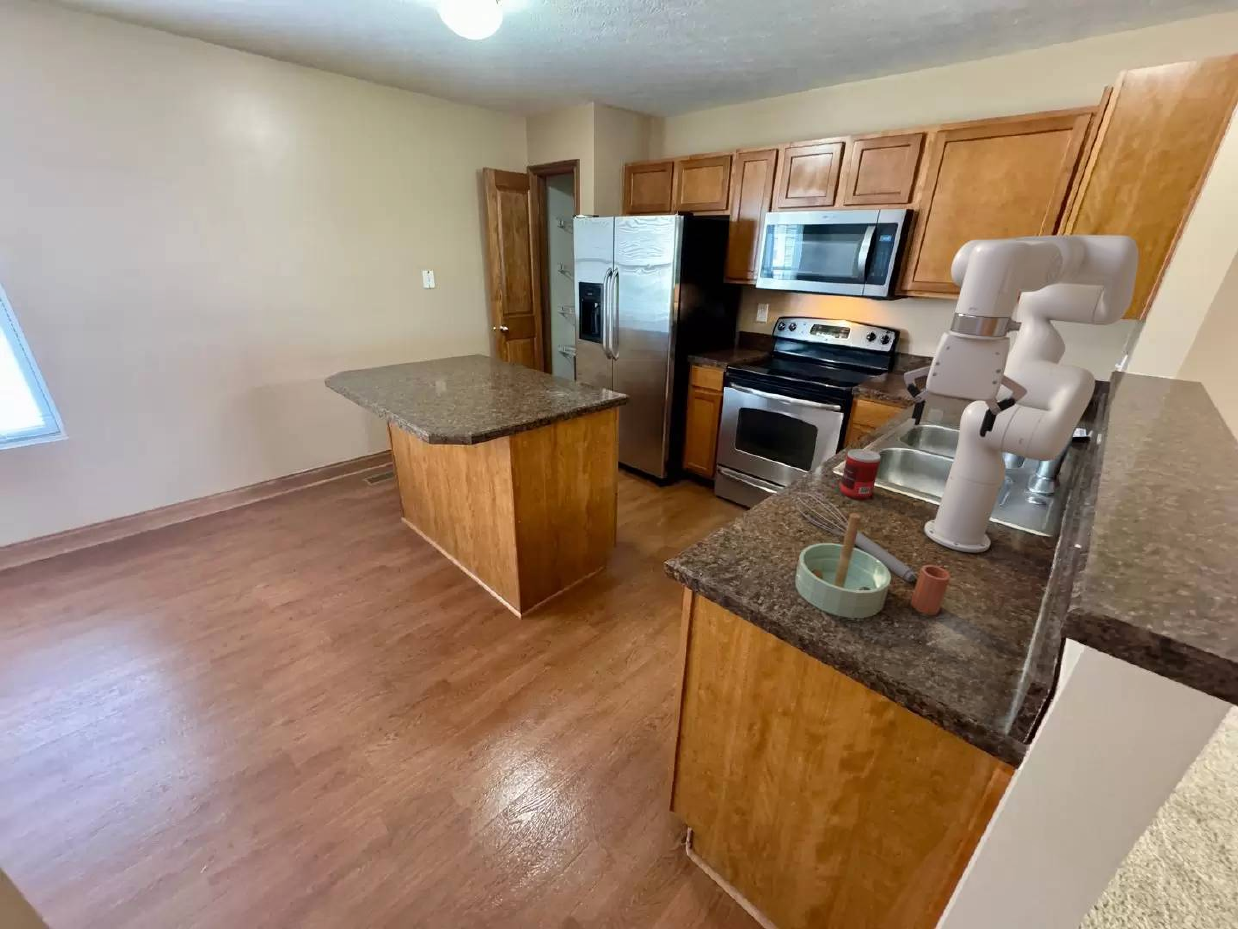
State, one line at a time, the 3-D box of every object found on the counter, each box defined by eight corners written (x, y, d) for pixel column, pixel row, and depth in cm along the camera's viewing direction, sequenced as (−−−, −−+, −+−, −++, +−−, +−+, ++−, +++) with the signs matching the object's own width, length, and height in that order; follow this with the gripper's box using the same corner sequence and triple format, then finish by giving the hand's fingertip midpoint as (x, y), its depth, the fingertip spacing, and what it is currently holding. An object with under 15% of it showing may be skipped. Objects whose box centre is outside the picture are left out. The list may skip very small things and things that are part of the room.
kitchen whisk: (909, 594, 96) (917, 565, 93) (788, 512, 124) (792, 489, 122) (932, 586, 98) (940, 559, 96) (808, 508, 127) (812, 485, 124)
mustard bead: (810, 575, 100) (812, 565, 99) (823, 579, 98) (825, 569, 97) (807, 581, 98) (809, 571, 97) (820, 586, 97) (822, 575, 96)
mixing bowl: (806, 559, 106) (811, 534, 103) (888, 586, 98) (895, 559, 96) (784, 599, 94) (789, 572, 91) (875, 633, 86) (884, 604, 84)
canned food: (875, 492, 135) (885, 454, 130) (864, 502, 130) (874, 462, 125) (846, 483, 140) (855, 446, 135) (834, 492, 134) (843, 454, 130)
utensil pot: (911, 598, 95) (922, 561, 92) (938, 607, 93) (951, 570, 89) (908, 611, 91) (920, 574, 88) (937, 620, 89) (950, 583, 86)
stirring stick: (833, 586, 97) (851, 512, 90) (843, 589, 96) (862, 514, 89) (831, 591, 95) (849, 516, 89) (841, 594, 94) (860, 519, 88)
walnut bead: (858, 593, 95) (861, 582, 94) (872, 597, 94) (875, 587, 93) (855, 600, 93) (858, 589, 92) (870, 604, 92) (873, 594, 91)
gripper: (1045, 329, 79) (1008, 432, 86) (919, 318, 88) (895, 413, 95) (1050, 335, 74) (1011, 446, 80) (915, 323, 82) (890, 424, 89)
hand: (948, 428), depth 88 cm, fingers open, 9 cm apart
